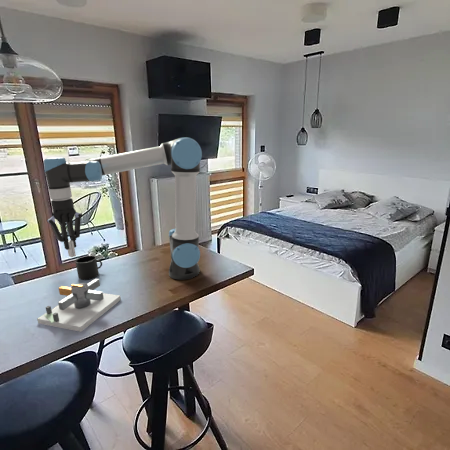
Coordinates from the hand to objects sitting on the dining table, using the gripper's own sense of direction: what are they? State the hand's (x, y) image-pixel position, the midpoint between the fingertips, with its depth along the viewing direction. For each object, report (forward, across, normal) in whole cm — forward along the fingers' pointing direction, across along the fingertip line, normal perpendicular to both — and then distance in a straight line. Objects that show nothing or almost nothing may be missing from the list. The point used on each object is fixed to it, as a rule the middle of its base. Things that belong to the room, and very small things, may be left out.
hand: (72, 255), depth 128 cm
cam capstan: (+18, +2, +8) cm, 20 cm away
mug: (+21, -15, -21) cm, 33 cm away
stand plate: (+20, +3, +8) cm, 22 cm away
